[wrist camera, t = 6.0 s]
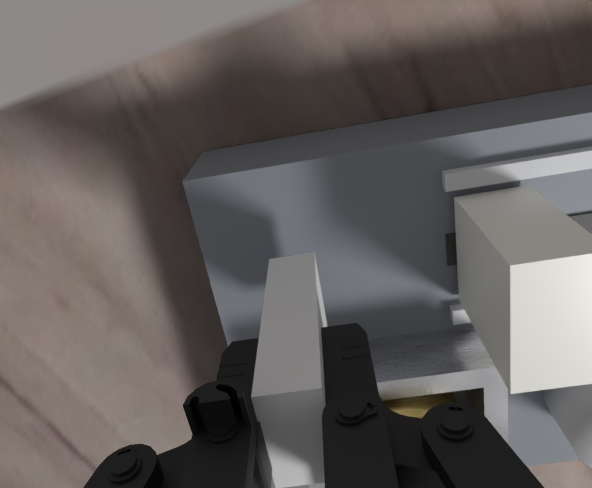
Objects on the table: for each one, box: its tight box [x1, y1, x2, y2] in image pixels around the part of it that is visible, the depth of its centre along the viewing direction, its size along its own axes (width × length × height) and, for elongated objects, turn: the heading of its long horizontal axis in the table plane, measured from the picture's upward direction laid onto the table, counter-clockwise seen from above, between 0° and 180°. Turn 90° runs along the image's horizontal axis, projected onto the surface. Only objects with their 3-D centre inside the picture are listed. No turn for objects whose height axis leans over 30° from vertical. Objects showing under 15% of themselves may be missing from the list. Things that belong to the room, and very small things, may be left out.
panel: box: [182, 84, 592, 488], centre depth 20 cm, size 24×15×6 cm, turn 100°
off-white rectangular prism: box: [454, 185, 592, 394], centre depth 15 cm, size 2×4×5 cm, turn 10°
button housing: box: [309, 325, 508, 488], centre depth 20 cm, size 7×7×2 cm
